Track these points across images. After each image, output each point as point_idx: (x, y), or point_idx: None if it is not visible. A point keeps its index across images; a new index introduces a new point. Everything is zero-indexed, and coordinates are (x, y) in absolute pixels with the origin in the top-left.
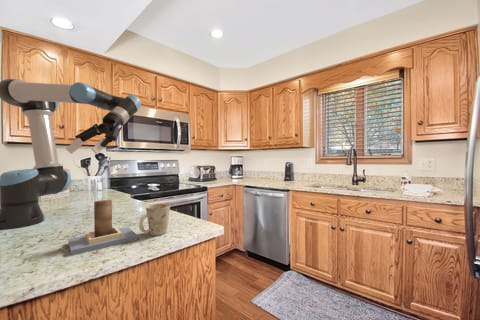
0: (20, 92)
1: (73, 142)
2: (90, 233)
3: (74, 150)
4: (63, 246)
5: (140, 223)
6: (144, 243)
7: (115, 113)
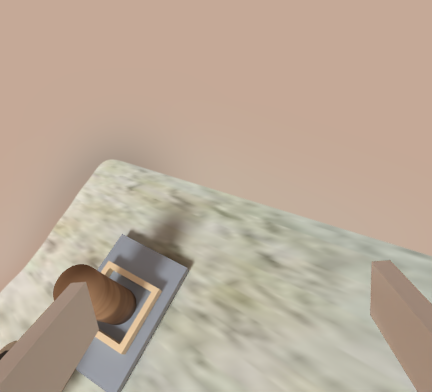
0: None
1: (428, 317)
2: (150, 295)
3: (387, 334)
4: (183, 257)
5: (13, 342)
6: (22, 332)
7: None
